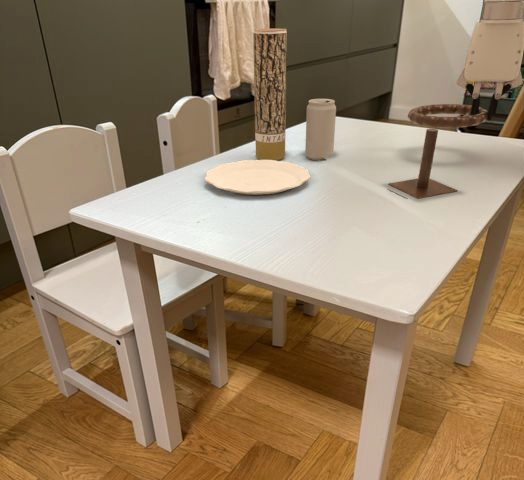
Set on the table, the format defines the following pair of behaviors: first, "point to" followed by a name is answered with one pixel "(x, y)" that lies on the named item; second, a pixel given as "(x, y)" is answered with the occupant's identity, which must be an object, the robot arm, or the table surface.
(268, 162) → the plate
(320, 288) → the table surface
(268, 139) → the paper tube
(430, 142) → the peg stand
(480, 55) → the robot arm
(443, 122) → the ring
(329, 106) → the beverage can
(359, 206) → the table surface
